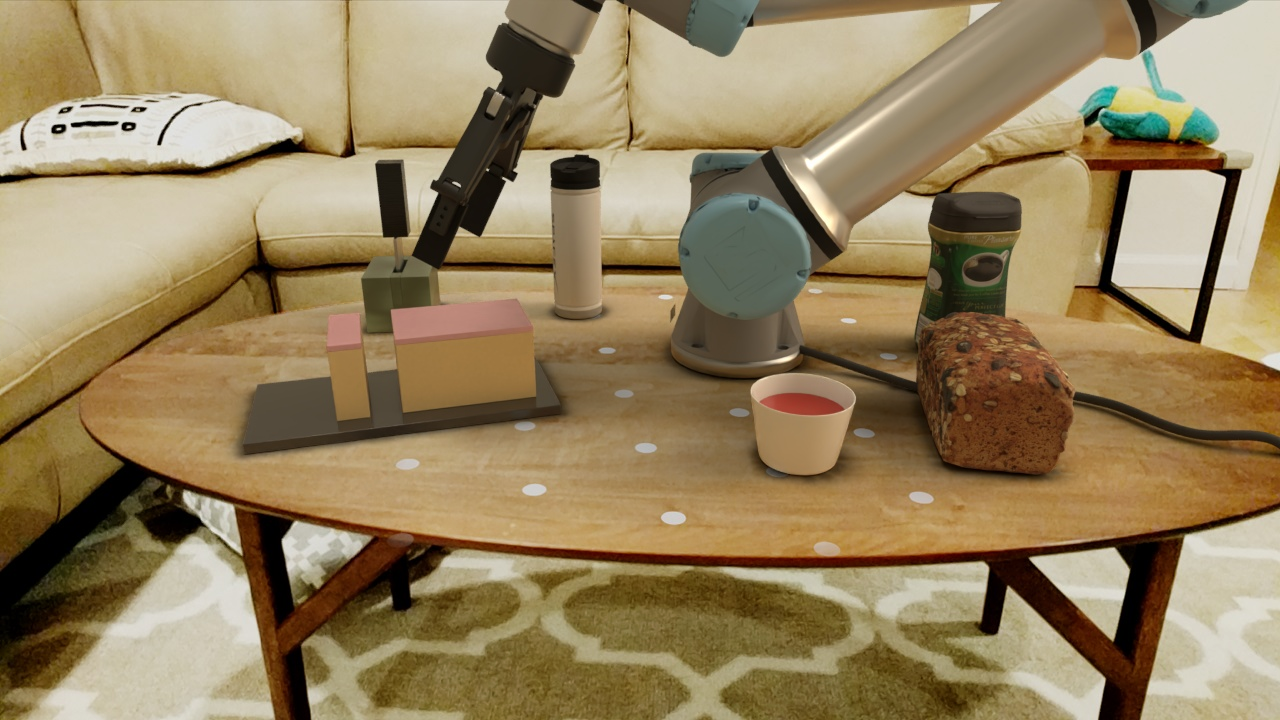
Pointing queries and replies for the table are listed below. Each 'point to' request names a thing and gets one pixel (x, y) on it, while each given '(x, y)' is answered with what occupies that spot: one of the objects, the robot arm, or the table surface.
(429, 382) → the cake loaf
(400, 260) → the kitchen knife
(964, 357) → the bread
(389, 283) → the knife block
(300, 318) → the table surface
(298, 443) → the cake board
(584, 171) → the travel mug
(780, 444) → the candle
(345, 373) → the cake slice
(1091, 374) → the table surface
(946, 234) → the coffee jar
